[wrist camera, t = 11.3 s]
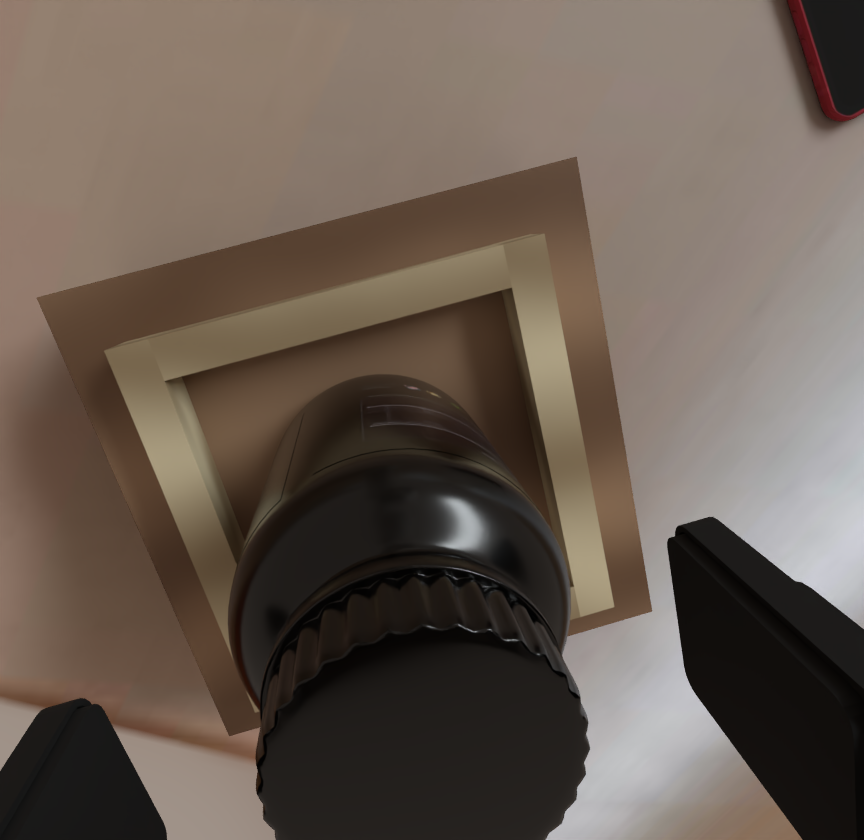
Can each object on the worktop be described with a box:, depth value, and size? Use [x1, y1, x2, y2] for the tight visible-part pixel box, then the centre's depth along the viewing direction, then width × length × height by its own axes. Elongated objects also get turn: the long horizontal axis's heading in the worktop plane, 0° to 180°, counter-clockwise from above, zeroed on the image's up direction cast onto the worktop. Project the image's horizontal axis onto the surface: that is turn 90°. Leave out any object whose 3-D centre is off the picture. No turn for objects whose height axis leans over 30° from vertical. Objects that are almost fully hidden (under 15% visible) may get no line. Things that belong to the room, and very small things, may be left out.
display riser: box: [37, 157, 652, 736], centre depth 22 cm, size 16×16×8 cm
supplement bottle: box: [228, 374, 590, 840], centre depth 14 cm, size 7×7×12 cm
